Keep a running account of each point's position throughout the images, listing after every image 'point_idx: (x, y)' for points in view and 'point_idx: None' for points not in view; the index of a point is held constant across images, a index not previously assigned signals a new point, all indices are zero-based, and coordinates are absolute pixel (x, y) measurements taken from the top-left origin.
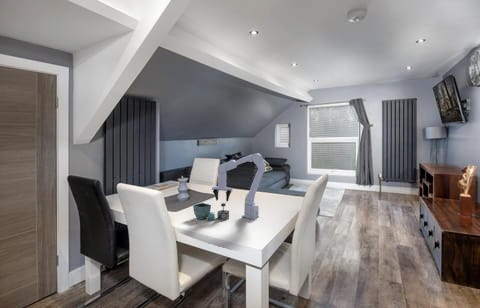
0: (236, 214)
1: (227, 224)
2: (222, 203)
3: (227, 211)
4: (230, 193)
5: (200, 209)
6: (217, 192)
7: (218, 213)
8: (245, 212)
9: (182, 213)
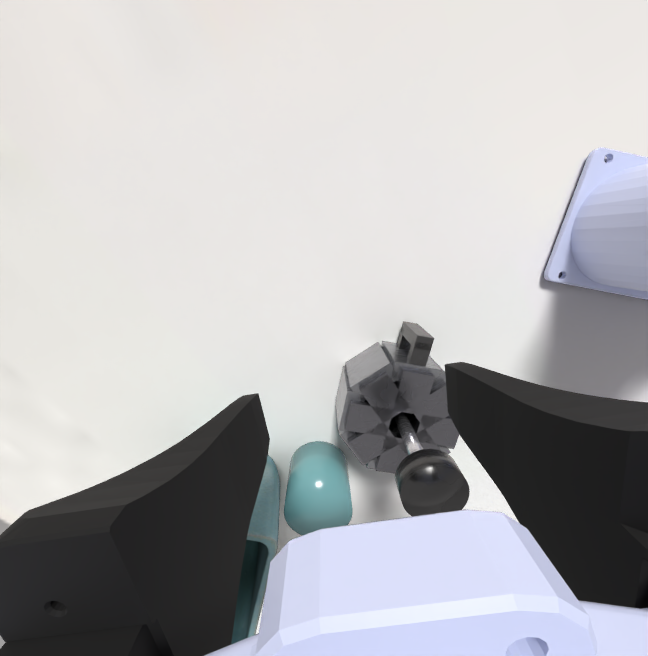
0: (467, 237)
1: (482, 488)
2: (413, 483)
3: (445, 401)
4: (641, 407)
5: (237, 622)
6: (202, 544)
7: (374, 468)
8: (632, 285)
9: (4, 455)
